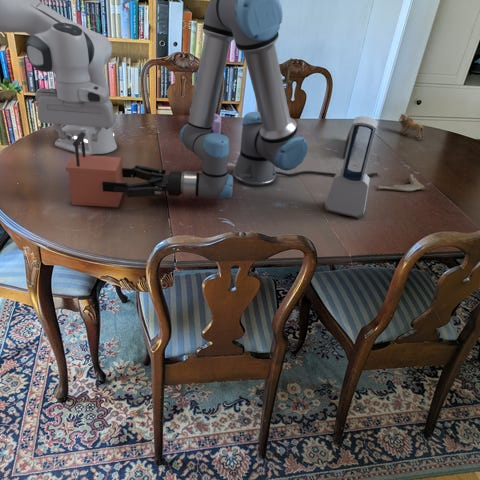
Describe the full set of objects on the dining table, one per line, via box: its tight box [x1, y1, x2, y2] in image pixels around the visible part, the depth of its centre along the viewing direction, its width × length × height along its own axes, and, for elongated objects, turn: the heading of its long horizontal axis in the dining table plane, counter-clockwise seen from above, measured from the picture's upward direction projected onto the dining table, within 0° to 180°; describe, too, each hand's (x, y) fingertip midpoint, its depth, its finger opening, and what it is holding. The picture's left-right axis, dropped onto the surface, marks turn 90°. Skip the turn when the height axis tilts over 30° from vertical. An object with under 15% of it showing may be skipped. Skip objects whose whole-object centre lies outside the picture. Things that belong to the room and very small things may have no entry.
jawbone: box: [376, 173, 426, 193], centre depth 169 cm, size 9×20×2 cm, turn 126°
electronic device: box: [324, 115, 379, 219], centre depth 142 cm, size 12×8×30 cm, turn 71°
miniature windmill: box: [279, 57, 293, 108], centre depth 207 cm, size 9×8×30 cm
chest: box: [68, 161, 124, 208], centre depth 140 cm, size 13×10×11 cm
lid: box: [65, 132, 123, 175], centre depth 135 cm, size 14×10×9 cm
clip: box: [189, 107, 222, 134], centre depth 199 cm, size 20×12×7 cm, turn 23°
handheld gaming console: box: [342, 123, 360, 159], centre depth 194 cm, size 23×3×10 cm, turn 161°
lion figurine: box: [398, 113, 425, 141], centre depth 218 cm, size 15×5×9 cm, turn 50°
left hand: (79, 139), depth 132 cm, fingers open, 8 cm apart
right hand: (106, 178), depth 139 cm, fingers closed on chest, 9 cm apart
